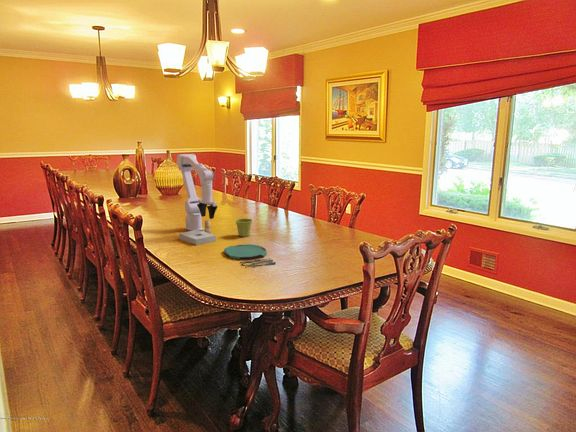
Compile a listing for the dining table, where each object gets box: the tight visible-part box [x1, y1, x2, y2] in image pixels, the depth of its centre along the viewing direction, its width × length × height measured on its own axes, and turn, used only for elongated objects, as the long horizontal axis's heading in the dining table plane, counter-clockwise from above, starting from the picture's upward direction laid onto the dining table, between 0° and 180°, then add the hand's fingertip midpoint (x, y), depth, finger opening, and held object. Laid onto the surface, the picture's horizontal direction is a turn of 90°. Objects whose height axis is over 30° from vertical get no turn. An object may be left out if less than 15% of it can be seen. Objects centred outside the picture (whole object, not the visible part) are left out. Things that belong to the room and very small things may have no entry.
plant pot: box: [234, 218, 254, 238], centre depth 233 cm, size 9×9×9 cm
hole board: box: [178, 230, 217, 246], centre depth 223 cm, size 16×12×3 cm
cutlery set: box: [223, 243, 277, 268], centre depth 196 cm, size 20×30×2 cm, turn 22°
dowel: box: [204, 219, 212, 234], centre depth 233 cm, size 3×3×8 cm
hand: (207, 217), depth 231 cm, fingers open, 7 cm apart
